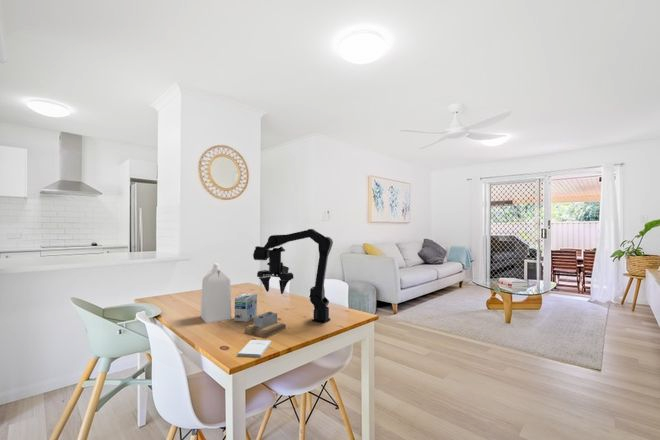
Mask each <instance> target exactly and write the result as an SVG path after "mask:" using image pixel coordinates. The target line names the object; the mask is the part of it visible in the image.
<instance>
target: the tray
mask: <svg viewBox="0 0 660 440" xmlns="http://www.w3.org/2000/svg"><path fill="white" fill-rule="evenodd" d="M286 327H287V326H286V324H285V323H283V322H278V321H277V323H275V324H273V325H271V326H268V327H266V328H263V329H261V328H257V327H254V323H252V324H249V325H247V326H245V327H244V333H245V334H246V333H247V334H249V335H254V336H258V337H261V338H265V339H267V338H269V337H272V336H274V335H276V334H278V333H281V332H282V331H284V330H286V329H287V328H286Z"/></svg>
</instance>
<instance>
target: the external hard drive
mask: <svg viewBox="0 0 660 440" xmlns="http://www.w3.org/2000/svg"><path fill="white" fill-rule="evenodd" d="M271 344H272V341H271V340H270V339H269V340H268V339H267V340H265V339H263V340H262V339H251V340H249V342H247V343H246V345H244V347H242V348H241V349H240V351H239V352H238V353H237V357H242V356H245V357H246V358H247V357H248V358H261V357H262V356H263V355H264V354H265V352H266V351H267V350H268V349H269V347H270V346H271ZM245 357H244V358H245Z"/></svg>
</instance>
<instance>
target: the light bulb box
mask: <svg viewBox="0 0 660 440" xmlns="http://www.w3.org/2000/svg"><path fill="white" fill-rule="evenodd" d="M255 316H258V294H257V293H243V294H240V295H239V296H237V297H235V298H234V322H245V323H247V322H249V321H251V320H252V319H254V317H255Z"/></svg>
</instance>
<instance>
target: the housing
mask: <svg viewBox="0 0 660 440" xmlns="http://www.w3.org/2000/svg"><path fill="white" fill-rule="evenodd" d="M277 322H278V313H276V312H273V311H267V312H264V313H261V314H257V316H255V317H254V318H253V324H254V327H257V328H261V329H263V328H266V327H268V326H271V325H273V324H275V323H277Z"/></svg>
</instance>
